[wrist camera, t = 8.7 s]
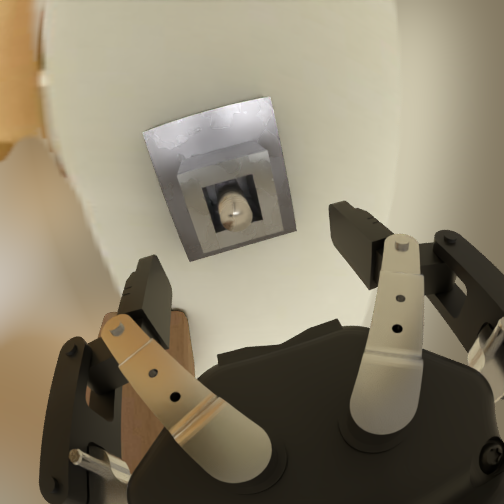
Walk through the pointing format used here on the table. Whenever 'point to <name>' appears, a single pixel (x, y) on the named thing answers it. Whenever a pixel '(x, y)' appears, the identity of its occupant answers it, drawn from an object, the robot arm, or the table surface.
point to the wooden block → (134, 408)
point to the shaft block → (228, 192)
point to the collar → (222, 169)
